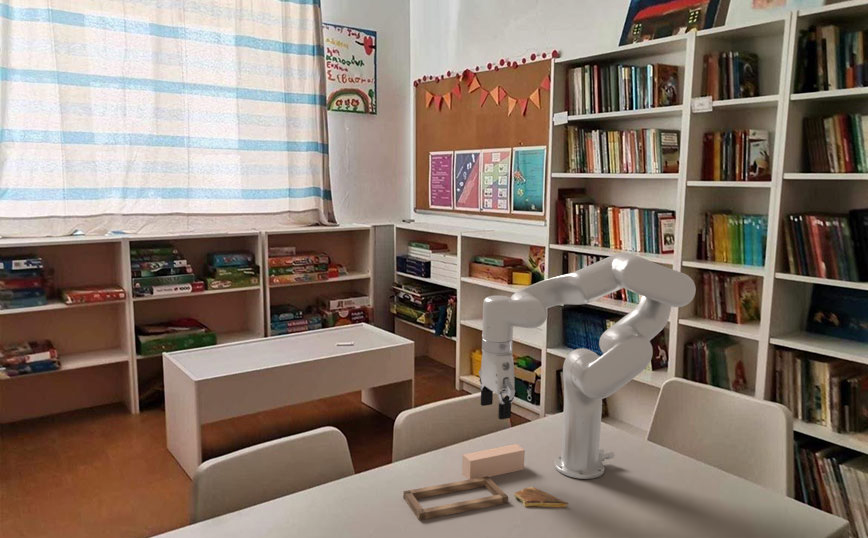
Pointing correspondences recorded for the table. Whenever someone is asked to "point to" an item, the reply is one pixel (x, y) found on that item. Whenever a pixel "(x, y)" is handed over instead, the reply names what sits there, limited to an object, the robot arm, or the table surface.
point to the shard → (538, 498)
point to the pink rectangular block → (493, 462)
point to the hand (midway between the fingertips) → (495, 411)
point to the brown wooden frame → (457, 507)
